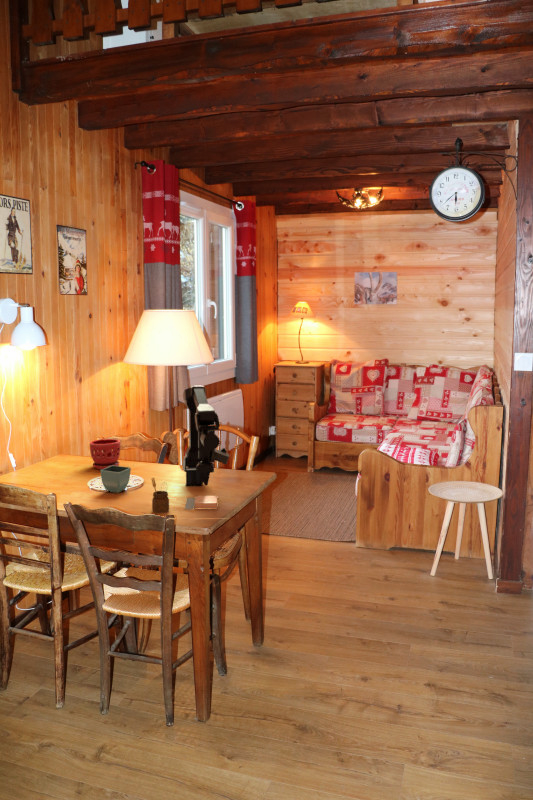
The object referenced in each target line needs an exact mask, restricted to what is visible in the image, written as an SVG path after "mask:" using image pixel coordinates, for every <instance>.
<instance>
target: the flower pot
mask: <svg viewBox="0 0 533 800" xmlns="http://www.w3.org/2000/svg"><path fill="white" fill-rule="evenodd" d="M99 470H100V478H101V482H102V485H103V487H104V489H105V490H106V491H107V490H108V491H110V492H109V493H115V494H116V493H117V494H119V493H120V492H122V490H123V489H125V490H126V488H127V487H128V484H129V482H130V478H131V471H132V468H131V467H130V466H122V465H118V466H113V465H112V466H109V467H107V468H105V469H99ZM108 491H107V492H108ZM123 491H124V490H123Z"/></svg>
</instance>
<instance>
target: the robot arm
mask: <svg viewBox="0 0 533 800" xmlns="http://www.w3.org/2000/svg"><path fill="white" fill-rule="evenodd" d="M182 397H183V401H184V404H185V406H186V407H187V409H188V447H187V448H186V449H185V450H186V451H185V453H184V455H185V456H184V457H183V459H182V461H183V462H182V470H183V471H184V473H185V487H202V486H203V485H204V486H208V484H209V480H210V477H211V476H210V475H211V473H215V462H218V463H222V464H223V465H228V464H227V463H228V461H229V459H230V453H229V452H227V449H226V448H224V447H222V448H221V449H217V448H218V447H219V445H220V438H219V436H218V435H217V434H216V431H219V430H220V418H219V415H218V414H217V412H216V410H215V409H214V407H213V406H211V405H210V404H209V402H208V398H207V391H206V388H205V386H204V385H192V386H190V387H188V388H186V389H184V390H183V392H182Z"/></svg>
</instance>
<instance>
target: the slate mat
mask: <svg viewBox="0 0 533 800" xmlns="http://www.w3.org/2000/svg"><path fill="white" fill-rule="evenodd" d="M195 498H196V497H186V500H185V501H186V503H185V506H184V510H185V511H186V510H190V509H193V508H194V509H195ZM190 511H191V510H190Z"/></svg>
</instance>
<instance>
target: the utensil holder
mask: <svg viewBox="0 0 533 800" xmlns="http://www.w3.org/2000/svg"><path fill="white" fill-rule="evenodd" d="M151 483H152V487H153V488H154V491H153V494H152V499H151V502H152V503H151V506H152V507H151V509H152V513H155V514H164V513H165V514H166V513H168V512H170V498H169V497H168V496H169V492H168V491H167V489H168V487H169V486H166V488H164V487H165V484H166V482H162V484H161V485H160V488H161V489H160V490H157V489H156V486H157V485H156V479H155V477H152V478H151ZM163 489H164V490H163Z"/></svg>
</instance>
